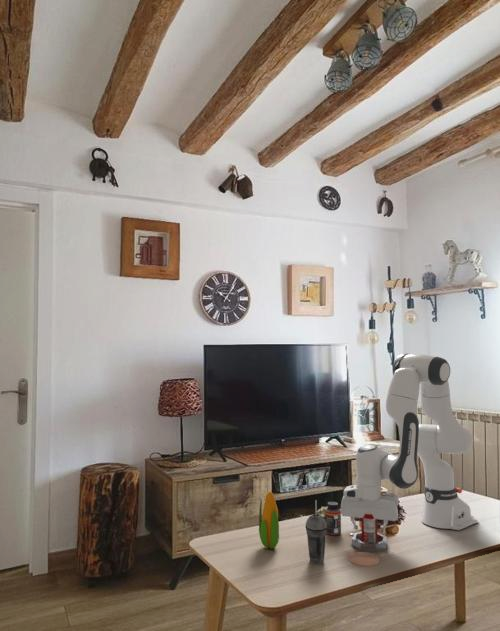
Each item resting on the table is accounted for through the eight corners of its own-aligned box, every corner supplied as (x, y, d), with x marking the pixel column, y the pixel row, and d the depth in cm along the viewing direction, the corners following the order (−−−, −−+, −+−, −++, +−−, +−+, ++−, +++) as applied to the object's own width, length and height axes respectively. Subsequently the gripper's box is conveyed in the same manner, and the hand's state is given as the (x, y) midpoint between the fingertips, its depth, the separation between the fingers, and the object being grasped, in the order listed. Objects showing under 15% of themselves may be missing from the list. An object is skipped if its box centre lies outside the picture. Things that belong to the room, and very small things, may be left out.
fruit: (321, 525, 207) (323, 504, 210) (339, 530, 201) (342, 508, 203) (306, 523, 202) (309, 502, 204) (325, 527, 195) (328, 506, 198)
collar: (371, 536, 191) (371, 527, 191) (393, 547, 180) (393, 538, 180) (343, 542, 185) (343, 533, 185) (365, 554, 174) (365, 545, 174)
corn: (264, 554, 175) (264, 496, 176) (255, 546, 182) (255, 490, 183) (284, 551, 178) (283, 493, 179) (274, 543, 185) (274, 487, 186)
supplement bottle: (340, 536, 190) (340, 506, 191) (324, 535, 191) (324, 505, 192) (341, 530, 196) (340, 501, 197) (325, 529, 197) (325, 500, 198)
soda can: (371, 540, 187) (370, 507, 187) (380, 545, 182) (380, 511, 182) (358, 542, 184) (358, 509, 185) (368, 548, 179) (367, 514, 180)
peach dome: (365, 551, 177) (365, 549, 177) (385, 562, 168) (385, 560, 168) (342, 557, 172) (342, 555, 172) (362, 568, 163) (362, 567, 163)
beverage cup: (305, 566, 166) (304, 504, 166) (306, 557, 173) (305, 497, 174) (328, 567, 165) (327, 505, 166) (327, 558, 172) (326, 498, 173)
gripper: (398, 491, 183) (399, 530, 183) (341, 486, 190) (342, 524, 189) (398, 496, 177) (399, 536, 177) (339, 491, 184) (340, 530, 183)
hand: (369, 530), depth 183 cm, fingers open, 8 cm apart
